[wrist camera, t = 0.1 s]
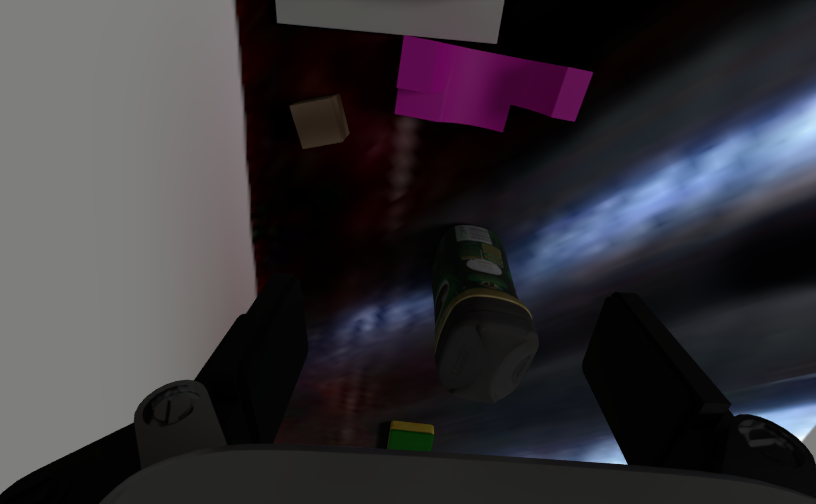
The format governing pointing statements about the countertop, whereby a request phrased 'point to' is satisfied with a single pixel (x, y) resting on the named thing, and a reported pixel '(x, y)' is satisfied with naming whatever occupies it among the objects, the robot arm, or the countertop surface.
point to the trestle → (400, 17)
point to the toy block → (482, 85)
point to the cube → (320, 121)
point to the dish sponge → (410, 436)
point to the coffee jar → (478, 317)
